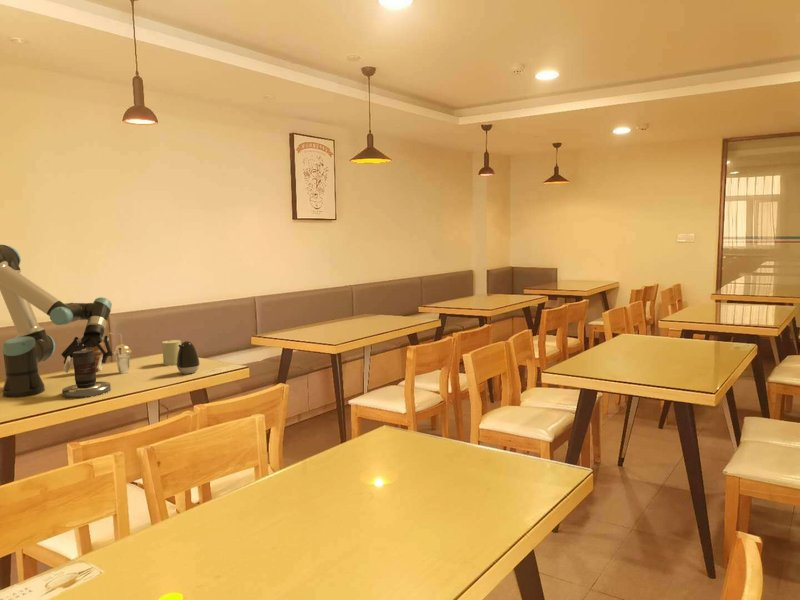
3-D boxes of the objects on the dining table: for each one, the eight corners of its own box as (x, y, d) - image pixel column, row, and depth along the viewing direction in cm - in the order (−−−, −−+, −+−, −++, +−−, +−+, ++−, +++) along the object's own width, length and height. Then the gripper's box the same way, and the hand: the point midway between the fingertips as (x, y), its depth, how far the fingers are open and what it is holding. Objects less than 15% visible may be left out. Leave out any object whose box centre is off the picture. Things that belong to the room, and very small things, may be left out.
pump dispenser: (172, 374, 277) (169, 343, 275) (186, 369, 287) (184, 339, 285) (190, 375, 274) (187, 343, 272) (204, 370, 284) (202, 339, 282)
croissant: (92, 374, 285) (89, 337, 283) (83, 372, 289) (80, 336, 287) (109, 370, 292) (106, 334, 290) (100, 369, 296) (97, 333, 294)
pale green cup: (178, 360, 310) (177, 338, 308) (185, 363, 303) (183, 340, 301) (160, 363, 304) (159, 340, 303) (166, 366, 297) (165, 342, 296)
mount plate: (58, 400, 238) (57, 393, 237) (67, 390, 255) (66, 383, 254) (107, 395, 243) (106, 388, 243) (113, 385, 260) (112, 378, 260)
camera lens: (101, 383, 252) (98, 349, 251) (89, 388, 244) (86, 353, 243) (83, 384, 253) (80, 349, 251) (71, 389, 245) (67, 353, 243)
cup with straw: (124, 375, 281) (120, 333, 278) (109, 374, 283) (105, 332, 281) (137, 370, 289) (134, 330, 286) (122, 370, 291) (119, 330, 289)
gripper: (127, 332, 262) (116, 373, 249) (69, 335, 261) (55, 376, 248) (121, 322, 257) (109, 363, 243) (62, 325, 255) (47, 366, 242)
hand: (82, 370), depth 245 cm, fingers open, 13 cm apart
